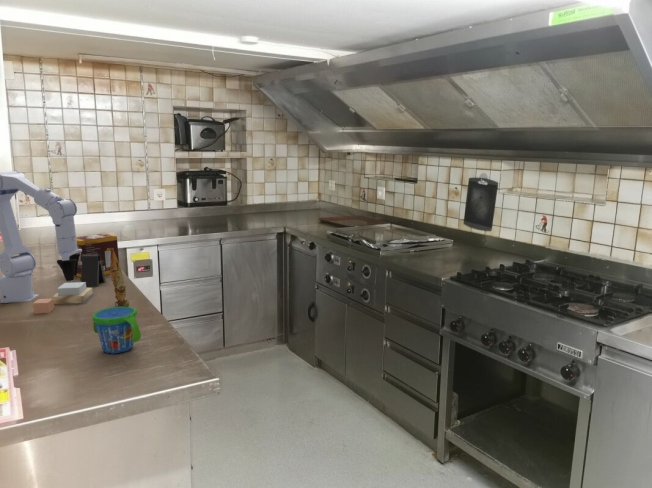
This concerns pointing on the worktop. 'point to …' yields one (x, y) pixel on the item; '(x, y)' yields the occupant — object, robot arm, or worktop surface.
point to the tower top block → (72, 288)
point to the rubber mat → (79, 303)
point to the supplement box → (97, 249)
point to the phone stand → (92, 270)
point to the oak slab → (73, 297)
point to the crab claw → (118, 280)
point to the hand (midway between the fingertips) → (71, 278)
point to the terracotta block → (43, 306)
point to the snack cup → (116, 328)
